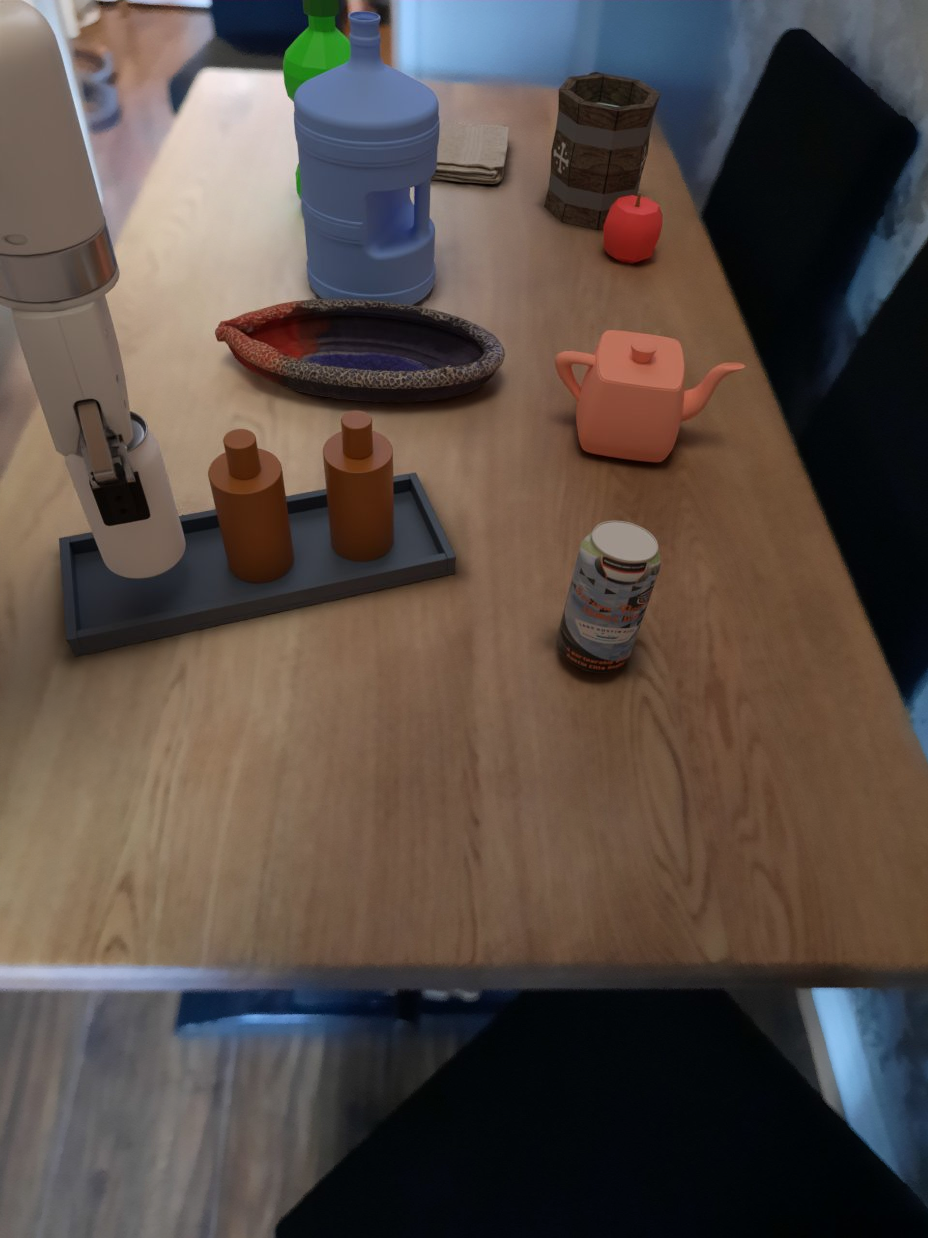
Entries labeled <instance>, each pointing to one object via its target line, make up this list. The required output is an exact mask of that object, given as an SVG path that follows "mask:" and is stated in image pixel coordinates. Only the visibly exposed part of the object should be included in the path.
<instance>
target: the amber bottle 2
mask: <svg viewBox="0 0 928 1238" xmlns="http://www.w3.org/2000/svg"><path fill="white" fill-rule="evenodd" d="M340 426H341V431H339V432H337V433H335V434H333V435H332V436H330V437H329V438H328V439H327V440H326V442H325V444H324V445H323V447H322V458H323V469H324V470H323V471H324V481H325V489H326V493H327V505H328V516H329V527H330V538H331V545H332V547H333V549H334V550H335V551H336V552H337V553H338V554H339V555H340V556H342V557H344V558H346V559H348V560H352V561H358V562H365V561H372V560H375V559H378V558H380V557H382V556H384V555H385V554H386V553H387V552H388V551H389V550H390V549H391V547H392V545H393V542H394V499H393V476H394V449H393V444H392V443H391V441H390V440H389V439H388V438H387V437H386V436H385V435H383V434H381V433H380V432H377V431H374V430H373V418H372V416H371V414H370V413H368V412H366V411H364V410H350V411H347V412H345V413H344V414H343V415H342V416H341V418H340Z"/></svg>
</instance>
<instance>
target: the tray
mask: <svg viewBox="0 0 928 1238" xmlns="http://www.w3.org/2000/svg"><path fill="white" fill-rule="evenodd" d="M393 499H394V542H393V545H392V547H391V549H390V550H389V551H388V552H387V553H386V554H385V555H384V556H382V557H380V558H378V559H375V560H372V561H365V562H358V561H352V560H348V559H346V558H344V557H342V556H340V555H339V554H338V553H337V552H336V551H335V550H334V549H333V547H332V545H331V538H330V527H329V516H328V505H327V493H326V488H323V489H317V490H313V491H306V492H301V493H296V494H291V495H286V501H287V509H288V516H289V523H290V530H291V538H292V545H293V552H294V562H293V564H292V566H291V568H290V569H289V571H288V572H287V573H286V574H284V575H283V576H282V577H280V578H278V579H276V580H273V581H270V582H265V583H250V582H246V581H243V580H241V579H239V578H238V577H236V576H235V575H234V574H233V573H232V572H231V570H230V569H229V566H228V562H227V557H226V553H225V548H224V544H223V539H222V535H221V530H220V526H219V521H218V517H217V513H216V508H214V509H209V510H205V511H198V512H193V513H192V512H191V513H187V514H181V515H179V519H180V522H181V526H182V530H183V534H184V538H185V543H186V547H185V551H184V554H183V556H182V557H181V559H180V560H179V561H178V562H177V564H176V565H175V566H174V567H173V568H171V569H170V570H168V571H167V572H165V573H163V574H161V575H158V576H156V577H152V578H147V579H131V578H126V577H123V576H120V575H117V574H115V573H114V572H112V571H111V570H110V569H109V568H108V567H107V566H106V565H105V563H104V561H103V558H102V556H101V553H100V551H99V549H98V546H97V543H96V541H95V538H94V536H93V533H92V531H90V532H84V533H79V534H73V535H68V536H64V537H58V545H59V558H60V573H61V574H60V575H61V585H62V586H61V587H62V599H63V613H64V626H65V627H64V629H65V640H66V643H67V644H68V647H69V649H70V651H71V653H72V655H73V657H79V656H84V655H90V654H94V653H98V652H102V651H106V650H112V649H117V648H121V647H125V646H129V645H133V644H134V645H135V644H139V643H143V642H147V641H152V640H157V639H162V638H166V637H170V636H175V635H180V634H185V633H188V632H194V631H198V630H203V629H207V628H212V627H216V626H222V625H225V624H231V623H235V622H239V621H244V620H249V619H252V618H253V619H254V618H258V617H261V616H267V615H271V614H275V613H281V612H285V611H289V610H295V609H299V608H303V607H307V606H313V605H318V604H321V603H327V602H330V601H331V602H332V601H335V600H339V599H344V598H348V597H353V596H357V595H362V594H368V593H373V592H377V591H381V590H386V589H390V588H395V587H399V586H403V585H410V584H413V583H417V582H422V581H426V580H431V579H435V578H440V577H446V576H450V575H454V574H456V566H457V565H456V563H457V555H456V553H455V552H454V549H453V547H452V545H451V543H450V541H449V539H448V537H447V535H446V532H445V530H444V528H443V526H442V524H441V522H440V520H439V518H438V515H437V514H436V512H435V509H434V507H433V505H432V503H431V501H430V499H429V496H428V494H427V491H426V490H425V488H424V486H423V484H422V482H421V480H420V478H419V476H418V474H417V472H410V473H404V474H399V475H393Z"/></svg>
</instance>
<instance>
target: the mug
mask: <svg viewBox="0 0 928 1238" xmlns="http://www.w3.org/2000/svg"><path fill="white" fill-rule="evenodd" d="M660 96H661V93H660V92H658V91H657V90H655V89H654V88H652V87H650V86H649V85H648V84H646V83H644V82H643V81H641V79H635V78H631V77H625V76H619V75H613V74H607V73H604V72H603V73H602V72H598V71H593V72H589V74H582V75H577V76H576V75H575V76H573V75H572V76H568V77H567V78H566V80H565V81H564V82H563V83H562V85H561V86H560V87H559V88H558V105H557V106H558V108H557V109H558V111H557V119H556V125H555V132H554V136H553V141H552V146H551V150H550V175H549V182H548V189H547V193H546V197H545V200H544V206H543V207H544V208H545V209H546V210H547V211H549V212H550V213H551V214H552V215H553V216H554V217H556V218H557V219H558V220H559V221H560V222H561V223H565V224H569V225H574V226H579V227H583V228H588V229H592V230H597V231H598V230H603V227H604V224H605V221H606V218H607V215H608V212H609V210H610V207H611V205H612V204H613V203H614V202H615V201H616V200H617V199H618V198H621V197H625V196H630V195H634V196H638V194H639V189H640V186H641V185H640V184H641V180H642V175H643V172H644V169H645V166H646V165H645V164H646V161H647V157H648V154H649V147H650V137H651V130H652V127H653V126H652V125H653V121H654V116H655V111H656V108H657V106H658V102H659V99H660Z"/></svg>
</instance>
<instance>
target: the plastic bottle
mask: <svg viewBox="0 0 928 1238" xmlns="http://www.w3.org/2000/svg"><path fill="white" fill-rule="evenodd" d="M302 8H303V14H305V15H307V16H308V17H307V18H308V26H307V27H306V28H305V29H304V30H303V31H302V32H301V33H300V34H299V35H298V36H297V37H296V38H295V39H294V41H293V42H292V43H291V44H290V45H289V46H288V47H287V48H286V49H285V51H284V56H283V60H282V69H283V72H282V73H283V81H284V82H283V83H284V84H283V85H284V87H285V91H286V95H287V97H288V98H289V99H290V100H291V101H292V102H293V103H294V95H295V92H296V90H297V89H298V88H299V86H300V85H302V84H303V83H304V82H306V81H307V80H309V79H311V78H314V77H316V76H318V75H320V74H322V73H325V72H327V71H329V70H331V69H333V68H335V67H338V66H340V65H342V64H344V63H346V62H348V61H349V59H350V55H351V51H350V41H349V37H347V36H346V35H345V34H344V33H343V32H341V30H339V29H338V28H337V27H336V16H337V15H339V14H340V3H339V0H302ZM295 185H296V193H297V195H298V197H299V200H300V201H301V180H300V169H299V162H298V164H297V167H296V169H295Z"/></svg>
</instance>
